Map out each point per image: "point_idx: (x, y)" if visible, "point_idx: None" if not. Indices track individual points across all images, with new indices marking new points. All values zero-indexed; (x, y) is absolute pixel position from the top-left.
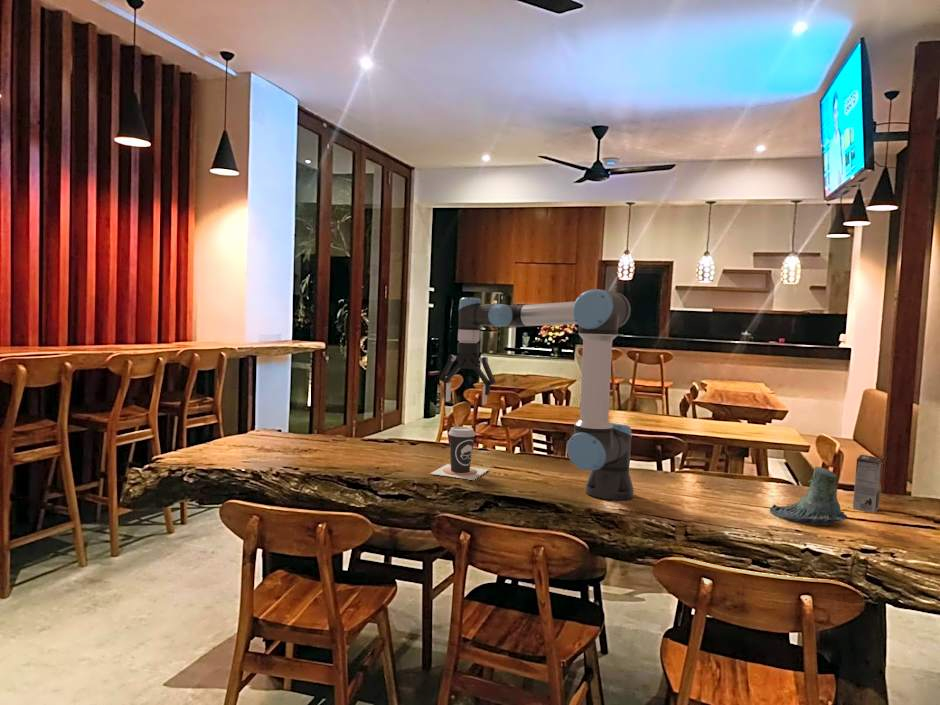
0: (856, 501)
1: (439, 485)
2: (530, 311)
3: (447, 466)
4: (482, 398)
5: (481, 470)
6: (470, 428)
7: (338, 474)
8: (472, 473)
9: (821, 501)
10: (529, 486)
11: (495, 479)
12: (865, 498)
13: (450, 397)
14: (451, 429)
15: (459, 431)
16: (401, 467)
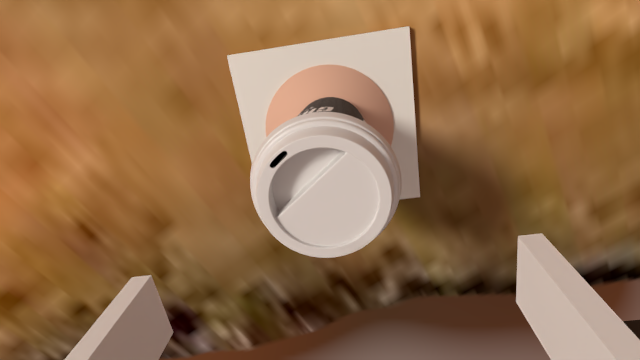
0: None
1: (353, 286)
2: None
3: (251, 93)
4: (544, 348)
5: (391, 64)
6: (358, 158)
7: (80, 339)
8: (386, 138)
9: None
10: (619, 140)
11: (477, 128)
12: None
13: (135, 298)
14: (284, 244)
15: (342, 254)
16: (131, 184)
